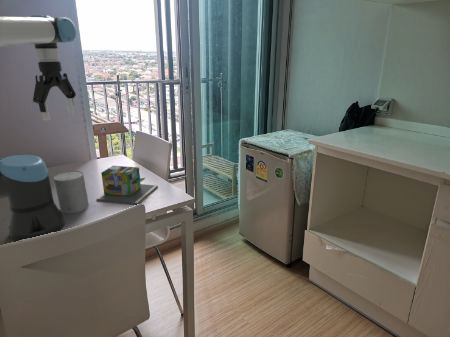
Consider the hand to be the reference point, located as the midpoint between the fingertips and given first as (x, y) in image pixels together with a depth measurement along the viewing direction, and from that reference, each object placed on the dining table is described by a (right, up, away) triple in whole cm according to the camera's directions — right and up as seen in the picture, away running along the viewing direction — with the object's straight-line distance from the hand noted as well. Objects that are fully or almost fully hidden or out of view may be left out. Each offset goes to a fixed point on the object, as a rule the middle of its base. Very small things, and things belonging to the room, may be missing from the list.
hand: (59, 117), depth 129 cm
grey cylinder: (+11, -35, -12) cm, 38 cm away
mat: (+28, -30, -1) cm, 41 cm away
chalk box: (+19, -25, -1) cm, 31 cm away
